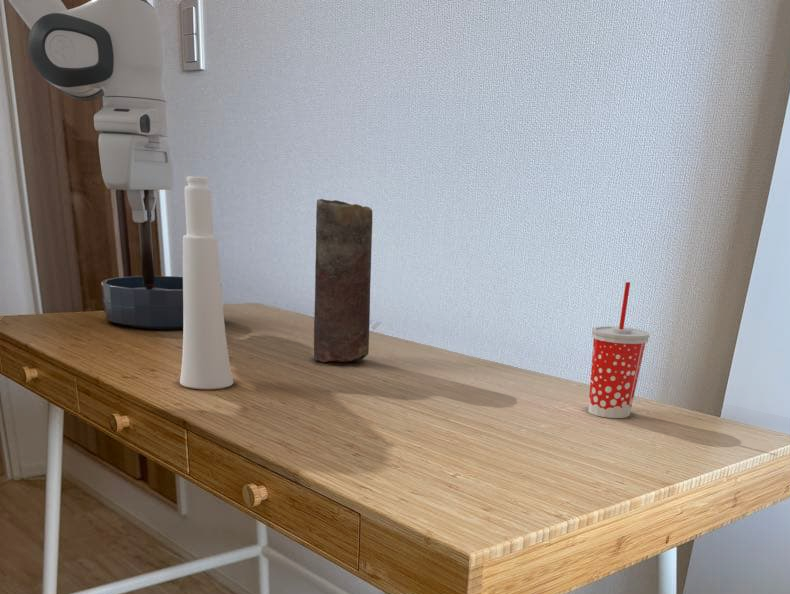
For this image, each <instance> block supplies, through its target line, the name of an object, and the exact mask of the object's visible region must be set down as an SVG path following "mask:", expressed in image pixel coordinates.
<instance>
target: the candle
mask: <svg viewBox="0 0 790 594" xmlns="http://www.w3.org/2000/svg"><path fill="white" fill-rule="evenodd" d="M315 213H316V216H315V220H316V221H315V265H314V268H315V271H314V273H315V275H314V277H315V278H314V314H313V315H314V316H313V317H314V319H313V320H314V321H313V360H314V361H315V362H321V363H328V362H338V363H349V362H357V361H358V362H359V361H361V360H363V359H365V357H367V356H368V355H369V354H370V353H369V352H370V319H371V318H370V316H371V281H372V280H371V279H372V277H371V276H372V249H373V248H372V247H373V246H372V245H373V243H372V242H373V217H374V216H373V215H374V213H373V209H372V208H371V207H369V206H362V205H361V204H357V203H354V204H351V203H348V202H346V201H341V200H335V199H333V200H329V199H324V198H318V199H317V200H316V212H315Z"/></svg>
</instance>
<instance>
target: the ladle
mask: <svg viewBox="0 0 790 594" xmlns="http://www.w3.org/2000/svg"><path fill="white" fill-rule="evenodd" d="M143 201H144V206H145V210H147V222H144V223H139V222H138V232H139V234H138V235H139V247H140V261H141V262H140V263H141V272H142V273H141V276H142V278H143V286H144V287H139V288H136V289H155V290H168V289H164V288H154V286H155V281H154V276H155V266H154V265H155V264H154V251H153V234H152V222H151V218H150V202H149V190H144V198H143Z"/></svg>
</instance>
